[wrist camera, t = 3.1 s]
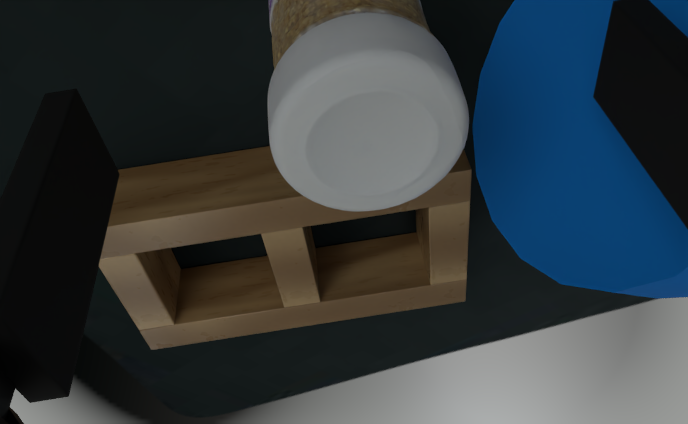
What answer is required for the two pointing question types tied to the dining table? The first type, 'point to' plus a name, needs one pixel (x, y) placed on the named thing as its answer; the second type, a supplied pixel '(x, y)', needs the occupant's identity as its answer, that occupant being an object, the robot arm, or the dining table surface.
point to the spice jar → (362, 102)
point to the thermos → (571, 156)
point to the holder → (271, 251)
